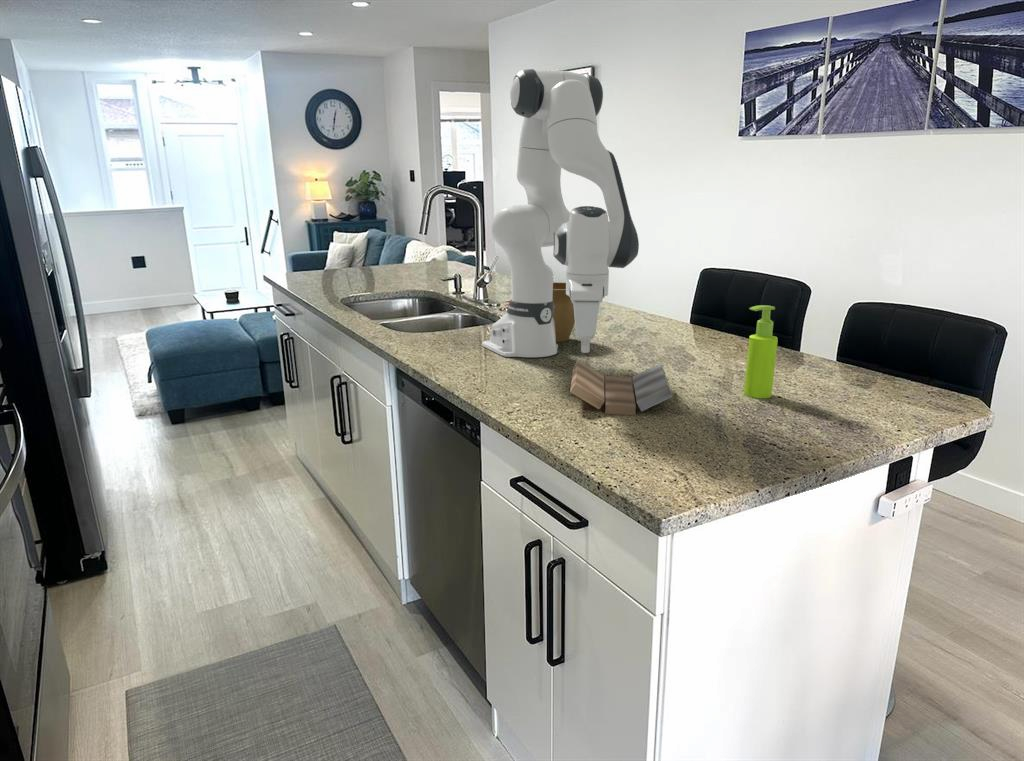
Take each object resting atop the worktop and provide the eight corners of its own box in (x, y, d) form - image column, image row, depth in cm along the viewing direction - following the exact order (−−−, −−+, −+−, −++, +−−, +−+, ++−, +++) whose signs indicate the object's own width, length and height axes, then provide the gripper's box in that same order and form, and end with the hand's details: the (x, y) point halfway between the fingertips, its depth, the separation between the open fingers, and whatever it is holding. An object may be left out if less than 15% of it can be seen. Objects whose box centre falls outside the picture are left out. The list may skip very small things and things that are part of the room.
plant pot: (580, 335, 220) (582, 282, 215) (580, 346, 205) (582, 289, 201) (531, 333, 221) (532, 280, 217) (527, 344, 207) (529, 288, 202)
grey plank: (636, 384, 166) (632, 377, 166) (664, 370, 165) (660, 363, 164) (641, 411, 147) (636, 403, 147) (673, 396, 146) (668, 388, 145)
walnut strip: (604, 384, 168) (604, 375, 168) (630, 385, 168) (631, 376, 167) (605, 413, 147) (605, 404, 147) (635, 415, 146) (635, 405, 146)
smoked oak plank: (573, 367, 167) (577, 360, 166) (599, 382, 167) (603, 375, 167) (570, 391, 148) (575, 383, 147) (599, 409, 148) (604, 401, 147)
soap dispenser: (734, 392, 163) (743, 304, 158) (759, 389, 165) (769, 302, 160) (751, 399, 158) (761, 309, 152) (777, 397, 160) (787, 307, 155)
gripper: (573, 280, 162) (571, 340, 165) (570, 293, 142) (569, 362, 146) (601, 280, 161) (599, 341, 165) (602, 293, 141) (600, 362, 145)
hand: (585, 351), depth 155 cm, fingers closed
